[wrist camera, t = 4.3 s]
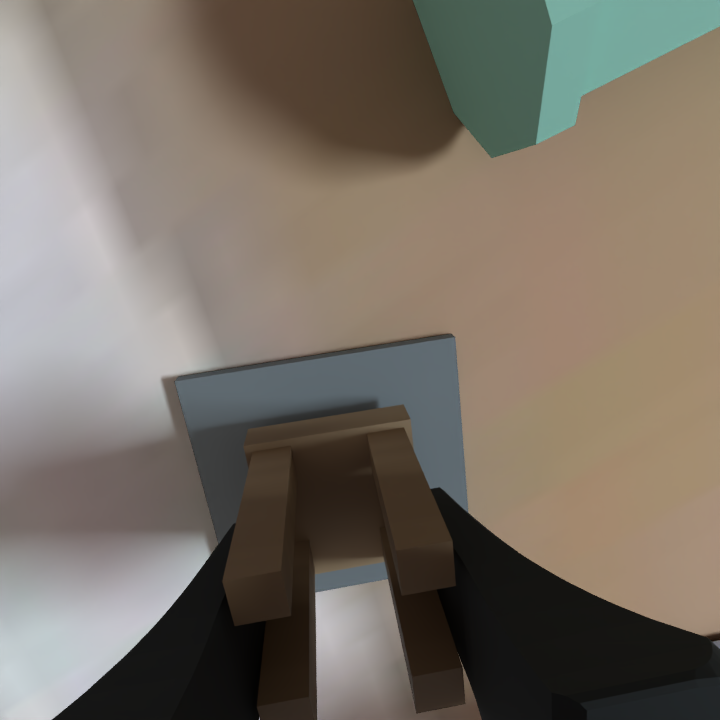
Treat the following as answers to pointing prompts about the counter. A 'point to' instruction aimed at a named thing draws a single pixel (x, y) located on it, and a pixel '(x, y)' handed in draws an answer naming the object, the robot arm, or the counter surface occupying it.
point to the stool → (339, 550)
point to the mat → (321, 399)
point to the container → (546, 56)
